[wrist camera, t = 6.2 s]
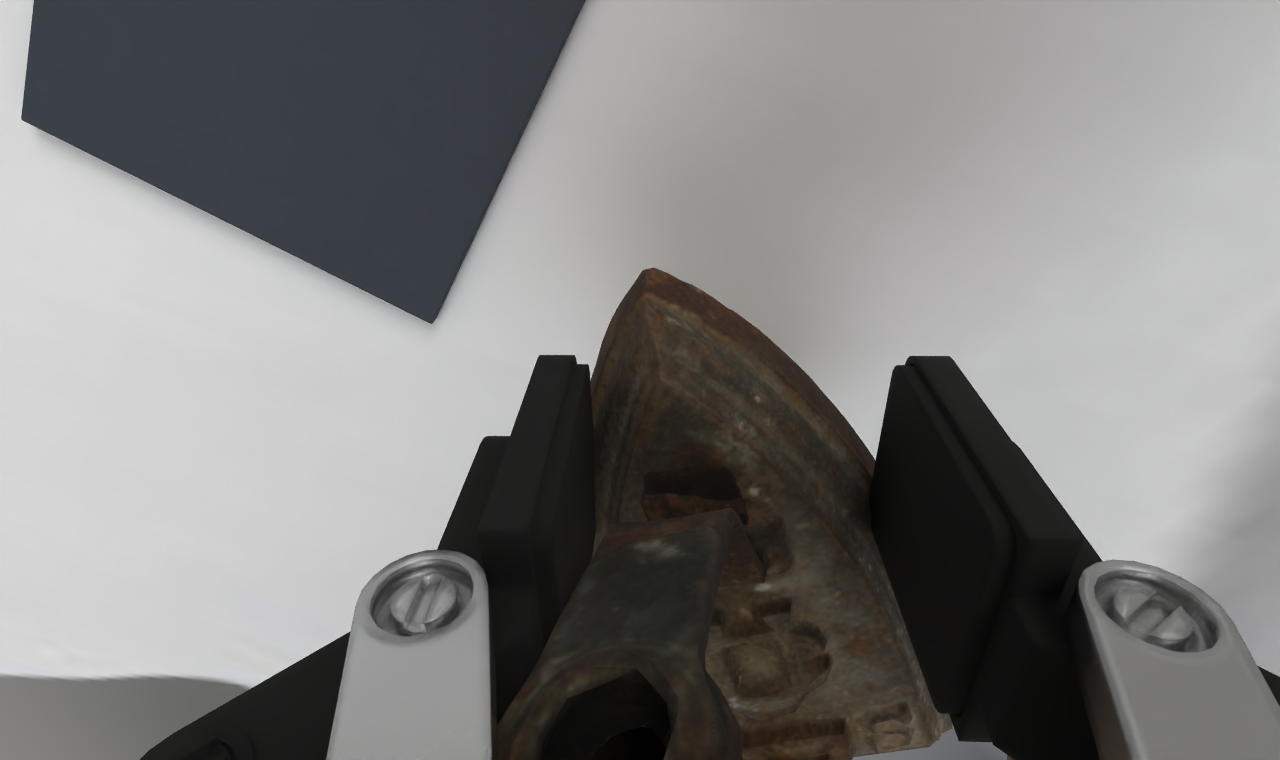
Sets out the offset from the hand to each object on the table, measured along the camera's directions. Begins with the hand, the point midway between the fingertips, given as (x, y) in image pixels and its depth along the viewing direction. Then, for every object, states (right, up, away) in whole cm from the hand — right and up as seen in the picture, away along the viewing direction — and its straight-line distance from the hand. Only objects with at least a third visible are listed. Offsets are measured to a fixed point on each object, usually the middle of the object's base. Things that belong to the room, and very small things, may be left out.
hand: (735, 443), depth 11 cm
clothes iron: (0, -2, +2) cm, 3 cm away
